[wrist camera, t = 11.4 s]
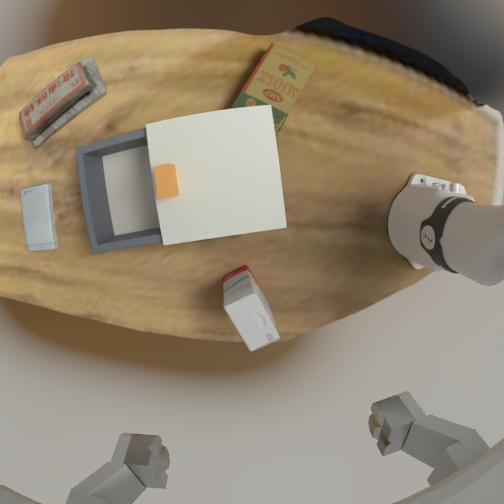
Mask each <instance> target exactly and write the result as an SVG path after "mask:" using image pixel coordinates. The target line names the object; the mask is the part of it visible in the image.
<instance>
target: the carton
mask: <svg viewBox="0 0 504 504" xmlns="http://www.w3.org/2000/svg"><path fill="white" fill-rule="evenodd" d="M315 68H316V65H314V64H313V63H311V62H309V61H307V60H306V59H304V58H302V57H300V56H298V55H296V54H294V53H292V52H290V51H288V50H286V49H284V48H282V47H280V46H278V45H275V44H273V43H271V44H270V46H269V48H268V49H267V51H266V52H265V54H264V56H263V57H262V58H261V60H260V62H259V63H258V65H257V66H256V68H255V69H254V71H253V72H252V74H251V76H250V77H249V79H248V81H247V82H246V84H245V85H244V87H243V89H242V90H241V92H240V94H239V95H238V97H237V98H236V100H235V102H234V103H233V105H232V107H231V108H230V109H233V108H242V107H251V106H261V105H271V108H272V115H273V122H274V129H275V136H277V135H278V133H279V131H280V129H281V127H282V125H283V124H284V122H285V120H286V118H287V116H288V114H289V113H290V111H291V109H292V107H293V106H294V104H295V102H296V100H297V99H298V97H299V95H300V93H301V92H302V90H303V88H304V86H305V85H306V83H307V81H308V79H309V78H310V76H311V74H312V72H313V71H314V69H315Z"/></svg>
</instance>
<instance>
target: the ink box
mask: <svg viewBox="0 0 504 504" xmlns="http://www.w3.org/2000/svg"><path fill="white" fill-rule="evenodd" d="M223 293H224V306H223V307H224V309H225V310H226V312H227V314H228V316H229V317H230V319H231V321H232V322H233V324H234V326H235V327H236V329H237V330H238V332H239V334H240V335H241V337H242V338H243V340H244V342H245V343H246V345H247V346H248V348H249V350H250V351H254V350H256V349H259V348H261V347H264V346H266V345H268V344H271V343H273V342H275V341H277V340H279V339H280V337H279V334H278V331H277V328H276V325H275V322H274V318H273V315H272V312H271V309H270V306H269V304H268V302H267V300H266V298H265V296H264V295H263V293H262V291H261V289H260V288H259V286H258V284H257V282H256V281H255V279H254V277H253V275H252V273H251V272H250V270H249V268H248V266H246V265H245V266H243V267H241V268H239V269H237V270H235V271H233V272H231V273H230V274H228V275H226V276H225V277H223Z"/></svg>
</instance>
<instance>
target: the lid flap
mask: <svg viewBox="0 0 504 504" xmlns="http://www.w3.org/2000/svg"><path fill="white" fill-rule="evenodd" d="M146 131H147V140H148V149H149V157H150V165H151V173H152V180H153V187H154V193H155V200H156V206H157V212H158V218H159V223H160V229H161V234H162V239H163V245H170V244H177V243H183V242H190V241H197V240H203V239H210V238H217V237H224V236H231V235H238V234H245V233H252V232H259V231H266V230H273V229H281V228H287V226H286V216H285V207H284V199H283V190H282V182H281V174H280V166H279V158H278V151H277V143H276V136H275V129H274V122H273V115H272V108H271V105H261V106H251V107H242V108H233V109H226V110H218V111H212V112H205V113H199V114H193V115H188V116H182V117H177V118H172V119H168V120H163V121H158V122H154V123H150V124H146Z"/></svg>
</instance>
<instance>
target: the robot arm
mask: <svg viewBox="0 0 504 504" xmlns="http://www.w3.org/2000/svg"><path fill="white" fill-rule="evenodd" d="M420 180H422V181H420ZM388 232H389V237H390V240H391V243H392V245H393V246H394V248H395V249H396V251H397V252H398V253H400V254H401V255H402V256H404V257H406V258H407V259H408V261H409V263H410V264H411V266H412V267H413V268H414V269H417V270H418V269H421V268H423V267H426V268H429V269H431V270H434V271H440V270H442V269H444V270H446V271H449V272H452V273H460V274H462V275H464V276H466V277H468V278H470V279H472V280H474V281H476V282H477V283H479V284H481V285H485V286H492V285H496V284H498V283H500V282H502V281H503V280H504V205H501V206H498V205H485V204H478V203H475V201H474V199H473V197H472V196H469V195H467V194H466V191H465V188H464V186H462V185H460V184H456V183H453V182H449V181H446V180H442V179H438V178H434V177H430V176H426V175H422V174H418V173H413V174H412V175H411V177H410V179H409V181H408V184H407V186H406V187H405V188H404V189H403V190H402V191H401V192H400V193H399V194H398V196H397V197H396V198H395V200H394V202H393V204H392V206H391V209H390V213H389V218H388ZM371 411H372V415H371V416H370V417H369V429H370V432H371V434H372V437H374V438H376V439H378V442H377V446H378V448H379V450H380V452H381V454H382V456H385V455H388V454H391V453H393V452H396V451H398V450H401V449H402V451H404V452H406V453H407V454H409V455H411V456H413V457H414V458H416V459H418V460H420V461H422V462H423V463H425V464H427V465H429V466H431V467H433V468H434V470H433V471H432V473H431V474H430V476H429V477H428V479H427V481H428V483H429V485H430V486H429V487H428V488H426V489H424V490H422V491H420V492H418V493H415V494H413V495H411V496H409V497H407V498H405V499H402V500H401V501H398V502H395V503H393V504H504V438H503V439H502V440H501V441H499V442H498V443H497V444H496V445H494V446H493V447H492V448H489V447H488V445H487V444H486V443H485V441H484V440H483V439H482V438H481V436H480V435H479V434H478V433H477V432H476V430H474V429H471V428H468V427H465V426H462V425H459V424H456V423H453V422H449V421H447V420H444V419H441V418H438V417H436V416H433V415H428V416H427V415H426V414H425V412H424V411H423V410H422V408H421V407H420V406H419V405H418V403H417V402H416V401H415V399H414V398H413V397H412V395H411V394H410V393H409V392H407V391H406V392H403V393H401V394H398V395H394V396H392V397H389V398H386V399H384V400H381V401H378V402H375V403H373V404H372V406H371ZM161 442H162V440H161V438H160V437H159V435H144V434H143V435H142V434H131V433H122V434H121V435H120V437H119V440H118V443H117V446H116V449H115V452H114V455H113V458H112V461H111V462H107V463H106V464H105V465H103V466H102V467H101V468H99V469H98V470H97V471H95V472H94V473H93V474H91V475H90V476H89V477H87V478H86V479H85V480H84V481H82V482H81V483H79V484H78V485H76V486H75V487H74V488H72V489H71V491H70V494H69V496H68V499H67V502H66V504H132V503H133V502H134V501H135V500H136V499H137V498H138V497H139V496H140V495H141V493H142V492H143V491H144V490H145V489H146V488H145V487H148V488H164V489H165V488H166V483H167V477H168V476H167V475H166V473H165V470H167V469H168V468H169V463H170V459H169V453H168V450H167V449H166V447H165V446H163V445H162V444H161ZM0 504H41V503H38V502H36V501H34V500H32V499H30V498H28V497H26V496H23V495H21V494H19V493H17V492H15V491H14V490H12V489H10V488H8V487H6V486H3V485H0Z"/></svg>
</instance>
